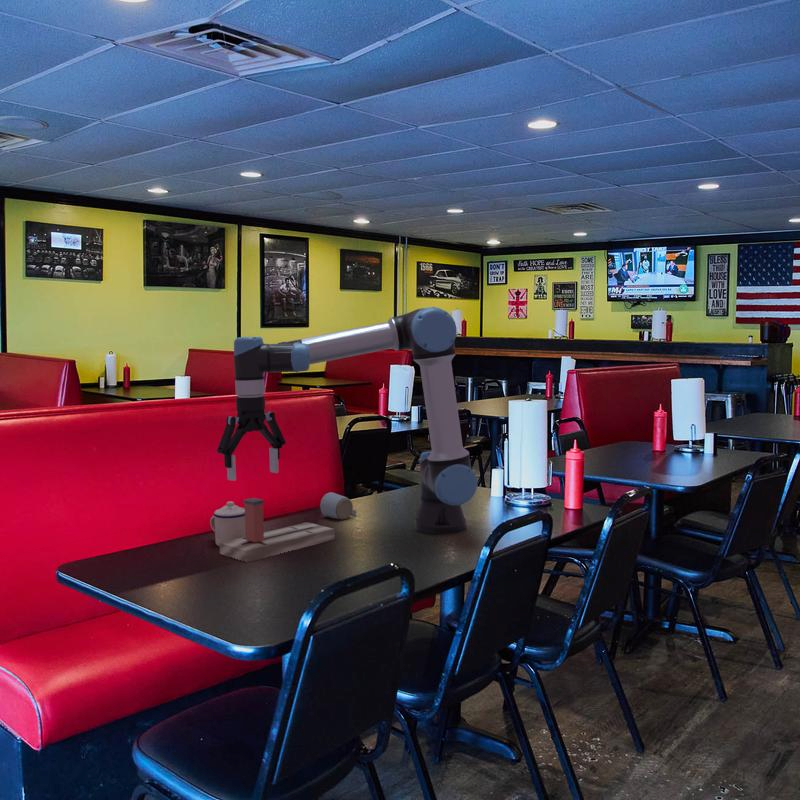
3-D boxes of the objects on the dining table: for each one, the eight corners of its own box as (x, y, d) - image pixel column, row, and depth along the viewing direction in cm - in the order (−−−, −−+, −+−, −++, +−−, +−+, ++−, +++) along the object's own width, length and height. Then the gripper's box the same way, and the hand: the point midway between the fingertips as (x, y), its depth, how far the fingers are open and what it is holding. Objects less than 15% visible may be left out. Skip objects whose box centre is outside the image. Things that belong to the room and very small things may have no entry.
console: (334, 539, 230) (334, 528, 230) (246, 562, 209) (246, 550, 209) (307, 532, 239) (307, 521, 239) (219, 553, 217) (219, 542, 217)
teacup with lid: (254, 541, 229) (253, 500, 228) (232, 549, 222) (230, 507, 221) (223, 536, 236) (221, 496, 235) (200, 543, 228) (198, 502, 227)
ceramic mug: (337, 522, 251) (336, 497, 250) (319, 518, 256) (319, 493, 256) (362, 516, 258) (362, 492, 258) (345, 513, 264) (344, 489, 263)
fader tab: (264, 540, 218) (263, 500, 217) (254, 542, 215) (253, 502, 214) (255, 537, 221) (253, 497, 220) (244, 539, 218) (243, 499, 217)
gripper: (279, 391, 226) (282, 467, 228) (201, 399, 208) (204, 481, 210) (296, 392, 221) (299, 470, 223) (217, 400, 203) (221, 485, 205)
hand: (253, 476), depth 216 cm, fingers open, 13 cm apart
